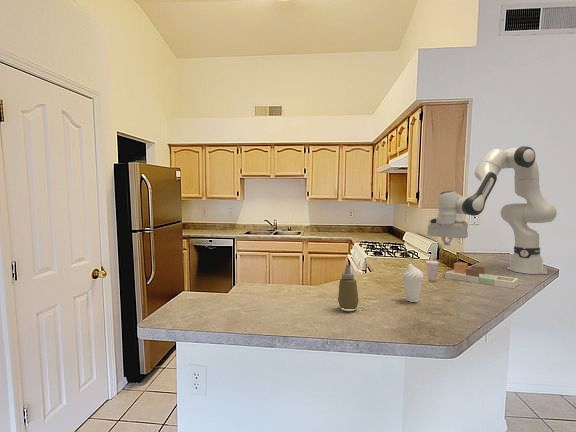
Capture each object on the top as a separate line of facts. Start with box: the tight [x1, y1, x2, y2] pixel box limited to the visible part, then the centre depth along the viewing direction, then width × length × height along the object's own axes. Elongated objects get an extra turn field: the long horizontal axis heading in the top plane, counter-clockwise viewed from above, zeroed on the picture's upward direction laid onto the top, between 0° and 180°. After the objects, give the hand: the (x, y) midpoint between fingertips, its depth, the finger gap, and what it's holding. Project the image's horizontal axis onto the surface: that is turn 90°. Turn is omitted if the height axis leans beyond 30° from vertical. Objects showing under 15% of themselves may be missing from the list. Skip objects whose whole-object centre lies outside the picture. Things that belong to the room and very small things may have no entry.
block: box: [453, 261, 468, 274], centre depth 168 cm, size 5×5×5 cm
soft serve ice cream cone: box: [401, 263, 424, 303], centre depth 131 cm, size 8×8×16 cm
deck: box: [444, 265, 520, 289], centre depth 161 cm, size 10×30×6 cm, turn 42°
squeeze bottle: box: [337, 263, 359, 309], centre depth 123 cm, size 8×8×18 cm
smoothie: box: [425, 253, 440, 282], centre depth 165 cm, size 6×6×14 cm
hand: (446, 245), depth 172 cm, fingers closed
